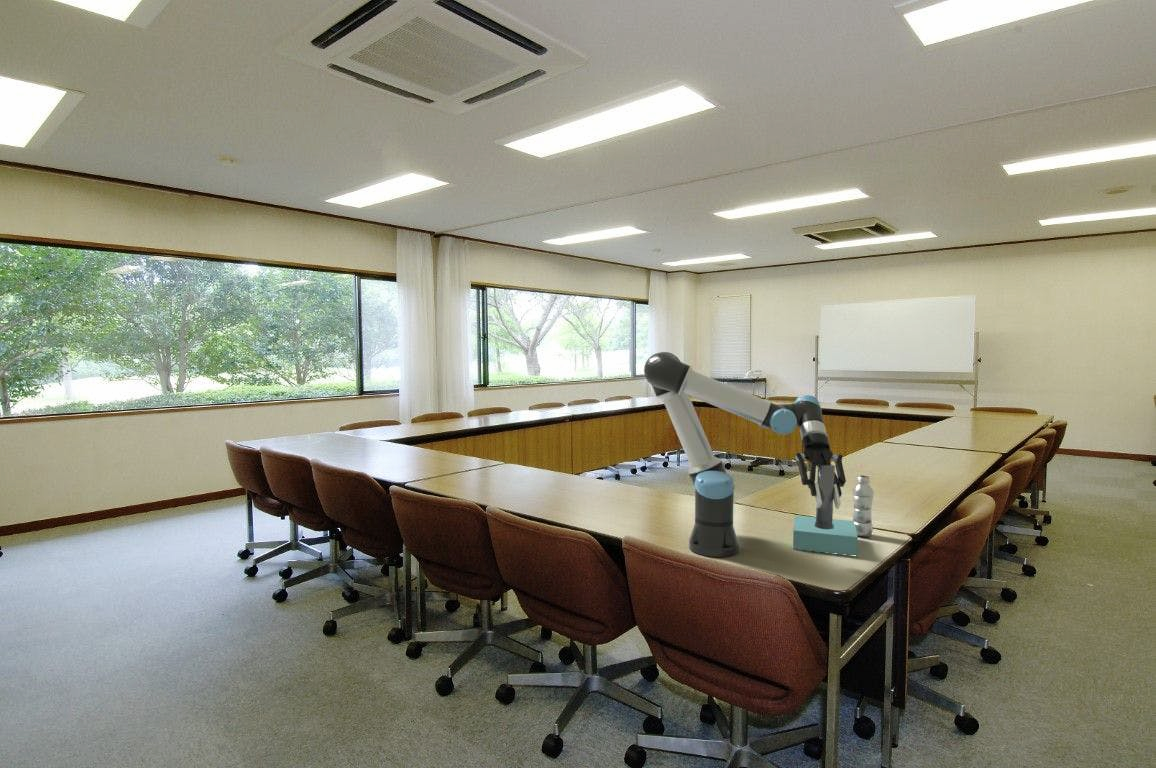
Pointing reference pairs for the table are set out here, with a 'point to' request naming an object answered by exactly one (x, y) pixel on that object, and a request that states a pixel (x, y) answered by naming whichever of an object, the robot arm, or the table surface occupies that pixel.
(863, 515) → the plastic bottle
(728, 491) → the robot arm
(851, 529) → the socket block
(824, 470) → the pin
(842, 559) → the table surface
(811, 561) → the table surface
